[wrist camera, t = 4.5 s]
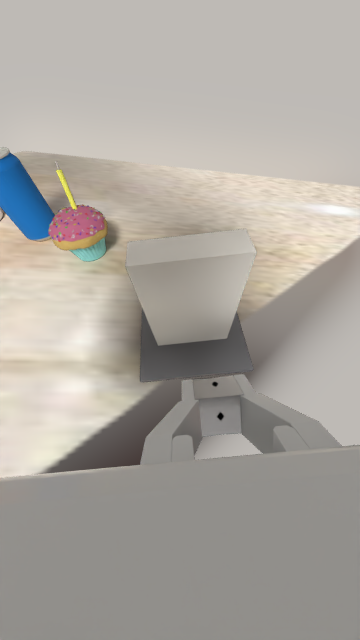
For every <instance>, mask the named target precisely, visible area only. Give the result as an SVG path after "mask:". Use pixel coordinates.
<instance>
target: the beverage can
mask: <svg viewBox="0 0 360 640" xmlns="http://www.w3.org/2000/svg"><path fill="white" fill-rule="evenodd" d="M0 207H1V208H2V209H3V210H4V212H5V213H6V214H7V215H8V216H9V217H10V219H11V220H12V221H13V222H14V223H15V224H16V226H17V227H18V228H19V229H20V230H21V231H22V233H23V234H24V235H25V236H26V237H27V238H28V239H30V240H36V241H45V240H48V239H51V236H50V235H49V234H48V233H49V231H48V230H49V227H50V226H49V224H51V223H50V222H51V220H53V218H54V216H55V215H54V213H53V212H52V210H51V209H50V207H49V206H48V204H47V202H46V201H45V199H44V198H43V196H42V195H41V193H40V192H39V190H38V188H37V187H36V185H35V184H34V182H33V181H32V179H31V178H30V176H29V174H28V173H27V171H26V170H25V168H24V167H23V165H22V164H21V162H20V160H19V159H18V158H17V157H16V156H14V155H13V154H11V153H10V151H9V149H8V148H5V147H0Z"/></svg>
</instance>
